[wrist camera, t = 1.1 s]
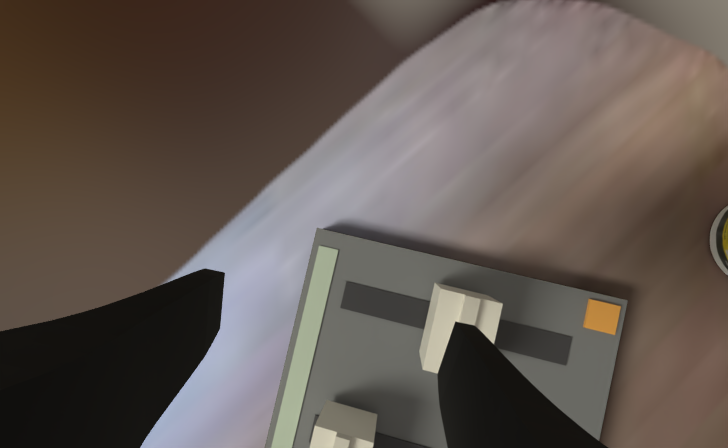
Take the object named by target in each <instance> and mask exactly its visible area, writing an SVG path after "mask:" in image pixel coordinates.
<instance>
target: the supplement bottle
mask: <svg viewBox="0 0 728 448" xmlns="http://www.w3.org/2000/svg"><path fill="white" fill-rule="evenodd" d="M710 249H711V252H712V255H713V258H714V260H715V261H716V263H717V265H718V266H719V267H720V268H721V270H722V271H723V272H724V273H725V274H726V275H728V206H726V207H725V208H724V209H723V210H722V211H721V212H720V213H719V214H718V215H717V217H716V218H715V220H714V222H713V225H712V228H711V231H710Z"/></svg>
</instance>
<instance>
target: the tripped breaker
mask: <svg viewBox="0 0 728 448" xmlns="http://www.w3.org/2000/svg"><path fill="white" fill-rule="evenodd" d="M502 305H503V304H502V303H501V302H499V301H497V300H495V299H493V298H492V297H490V296H488V295H485V294H480V293H476V292H472V291H468V290H464V289H460V288H456V287H451V286H447V285H443V284H439V283H434V288H433V292H432V297H431V301H430V306H429V310H428V315H427V319H426V324H425V328H424V332H423V337H422V341H421V346H420V350H419V353H420V358H421V364H422V369H423V370H426V371H430V372H433V373H437V374H438V371H439V368H440V365H441V362H442V359H443V356H444V353H445V350H446V347H447V344H448V341H449V339H450V336H451V333H452V330H453V327H454V324H455V321H456V322H460V323H465V324H470V325H475V326H476V327H477V328H478V329H479V330H480V331H481V332H482V333H483V334H484V335H485V336H486V337H487V338H488V339H489V340H490V341H491V342H492V343H493V344H494V342H495V338H496V333H497V328H498V324H499V319H500V314H501V310H502Z"/></svg>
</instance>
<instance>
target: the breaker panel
mask: <svg viewBox="0 0 728 448" xmlns="http://www.w3.org/2000/svg"><path fill="white" fill-rule="evenodd" d="M434 283H439V284H443V285H447V286H451V287H456V288H460V289H464V290H468V291H472V292H476V293H480V294H485V295H488V296H490V297H492V298H493V299H495V300H497V301H499V302H501V303H502V304H503V305H502V310H501V314H500V319H499V324H498V328H497V333H496V338H495V342H494V345H495V346H496V347H497V348H498V349H499V351H500V352H501V353H502V354H503V355H504V356H505V357H506V358H507V359H508V360H509V361H510V362H511V363H512V364H513V365H514V366H515V367H516V368H517V369H518V370H519V371H520V372H521V373H522V374H523V375H524V376H525V377H526V378H527V379H528V380H529V381H530V382H531V383H532V384H533V385H534V386H535V387H536V388H537V389H538V390H539V391H540V392H541V393H542V394H543V395H544V396H546V397H547V398H548V399H549V400H550V401H551V402H552V403H553V404H554V405H555V406H557V407H558V408H559V409H560V410H561V411H562V412H563V413H565V414H566V415H567V416H568V417H570V418H571V419H572V420H573V421H574V422H576V423H577V424H578V425H579V426H580V427H582V428H583V429H584V430H585V431H587V432H588V433H589V434H590V435H592V436H593V437H594V438H596V439H597V440H598V441H599V439H600V434H601V429H602V424H603V419H604V414H605V409H606V404H607V400H608V395H609V390H610V385H611V380H612V375H613V370H614V365H615V360H616V356H617V351H618V346H619V341H620V336H621V331H622V326H623V321H624V316H625V312H626V307H627V302H628V300H624V299H620V298H615V297H611V296H607V295H603V294H598V293H594V292H590V291H586V290H581V289H577V288H573V287H568V286H564V285H560V284H556V283H551V282H547V281H543V280H538V279H534V278H530V277H526V276H521V275H517V274H513V273H508V272H504V271H500V270H496V269H491V268H487V267H483V266H478V265H474V264H470V263H466V262H461V261H457V260H453V259H448V258H444V257H440V256H436V255H431V254H427V253H423V252H418V251H414V250H410V249H406V248H401V247H397V246H393V245H389V244H384V243H380V242H376V241H371V240H367V239H363V238H359V237H354V236H350V235H346V234H341V233H337V232H333V231H329V230H324V229H320V228H317V230H316V234H315V238H314V242H313V247H312V251H311V255H310V259H309V263H308V268H307V272H306V276H305V280H304V285H303V289H302V293H301V297H300V301H299V306H298V310H297V314H296V318H295V322H294V327H293V331H292V335H291V339H290V343H289V348H288V352H287V356H286V360H285V364H284V369H283V373H282V377H281V381H280V386H279V390H278V394H277V398H276V402H275V407H274V411H273V415H272V419H271V423H270V428H269V432H268V436H267V440H266V444H265V448H310V444H311V440H312V435H313V431H314V427H315V424H316V422H317V420H318V418H319V415H320V413H321V411H322V409H323V407H324V405H325V403H326V400H329V401H333V402H336V403H340V404H343V405H347V406H350V407H354V408H357V409H361V410H364V411H368V412H371V413H375V414H377V422H376V430H375V438H374V445H373V448H448V447H447V442H446V437H445V432H444V427H443V422H442V417H441V411H440V406H439V394H438V377H437V373H433V372H430V371H426V370H423V369H422V364H421V358H420V353H419V350H420V346H421V341H422V337H423V332H424V328H425V324H426V319H427V315H428V310H429V306H430V301H431V297H432V292H433V288H434Z"/></svg>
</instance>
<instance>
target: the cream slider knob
mask: <svg viewBox="0 0 728 448" xmlns="http://www.w3.org/2000/svg"><path fill="white" fill-rule="evenodd" d="M376 422H377V414H375V413H371V412H368V411H364V410H361V409H357V408H354V407H350V406H347V405H343V404H340V403H336V402H333V401H329V400H326V403H325V405H324V407H323V409H322V411H321V413H320V415H319V418H318V420H317V422H316V424H315V427H314V431H313V435H312V440H311V444H310V448H373V445H374V438H375V430H376Z"/></svg>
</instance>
